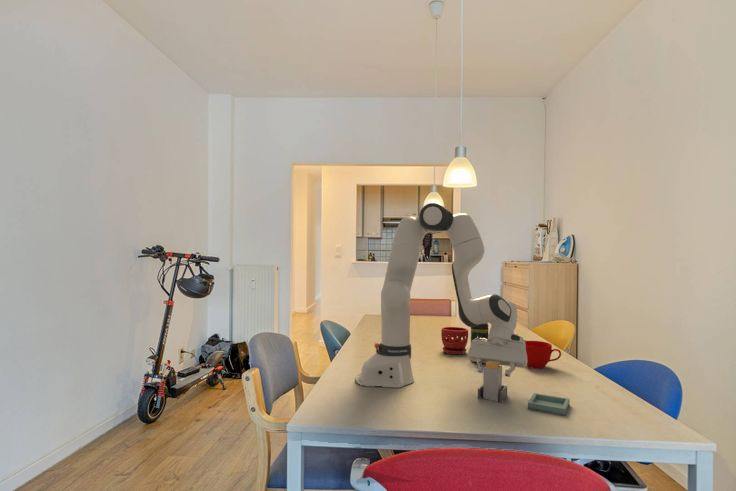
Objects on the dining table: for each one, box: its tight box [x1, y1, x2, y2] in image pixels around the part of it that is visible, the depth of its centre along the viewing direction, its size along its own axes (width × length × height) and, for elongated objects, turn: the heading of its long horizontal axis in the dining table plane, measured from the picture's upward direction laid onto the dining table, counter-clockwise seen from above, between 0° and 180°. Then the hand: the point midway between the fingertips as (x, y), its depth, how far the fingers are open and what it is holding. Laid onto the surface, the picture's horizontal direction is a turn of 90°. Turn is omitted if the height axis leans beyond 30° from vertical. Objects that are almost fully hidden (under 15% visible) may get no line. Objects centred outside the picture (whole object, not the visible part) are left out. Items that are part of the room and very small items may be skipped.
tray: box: [527, 392, 570, 417], centre depth 141 cm, size 11×11×2 cm
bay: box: [477, 383, 508, 404], centre depth 150 cm, size 8×8×4 cm
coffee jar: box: [470, 323, 489, 363], centre depth 200 cm, size 10×8×19 cm
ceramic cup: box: [525, 340, 562, 369], centre depth 189 cm, size 13×17×10 cm
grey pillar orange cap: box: [482, 361, 503, 402], centre depth 150 cm, size 5×5×12 cm
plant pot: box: [440, 326, 469, 356], centre depth 216 cm, size 13×13×12 cm
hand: (493, 373), depth 151 cm, fingers open, 8 cm apart
